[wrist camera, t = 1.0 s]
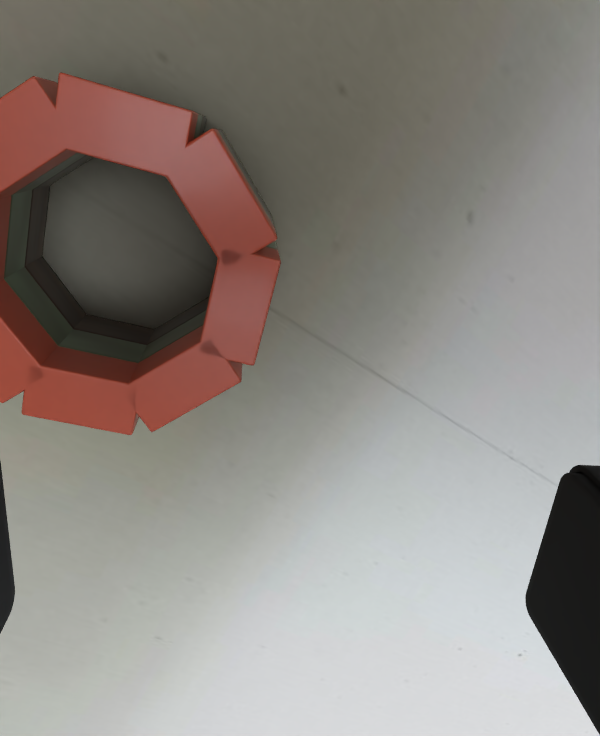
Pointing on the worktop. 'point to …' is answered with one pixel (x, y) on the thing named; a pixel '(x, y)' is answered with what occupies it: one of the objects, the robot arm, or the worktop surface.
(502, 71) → the worktop surface
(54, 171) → the ring stack
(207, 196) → the terracotta ring
